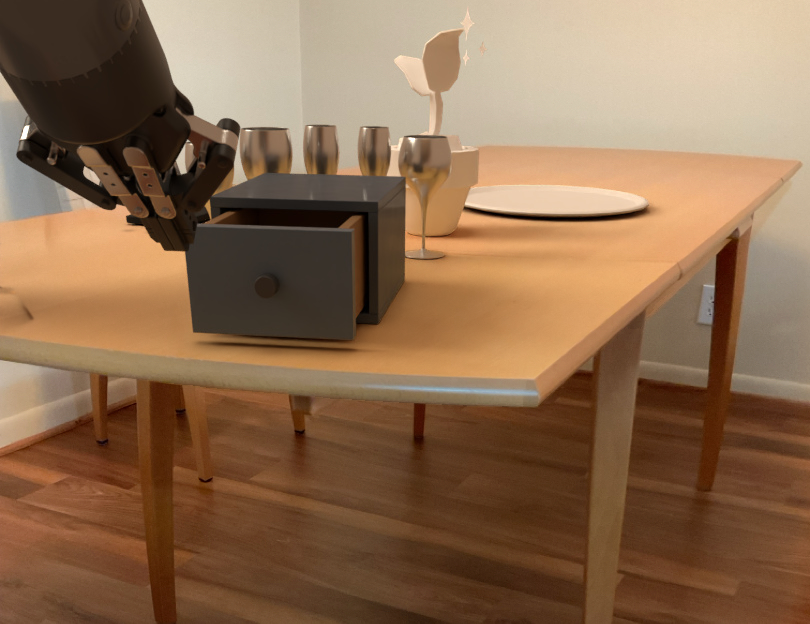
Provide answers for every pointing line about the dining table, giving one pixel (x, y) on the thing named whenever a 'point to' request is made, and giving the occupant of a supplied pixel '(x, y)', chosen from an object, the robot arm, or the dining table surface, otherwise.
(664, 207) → the dining table surface
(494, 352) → the dining table surface
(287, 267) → the drawer
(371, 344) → the dining table surface
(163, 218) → the robot arm
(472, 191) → the plate
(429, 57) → the potted plant
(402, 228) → the cabinet
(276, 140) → the goblet set
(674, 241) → the dining table surface
